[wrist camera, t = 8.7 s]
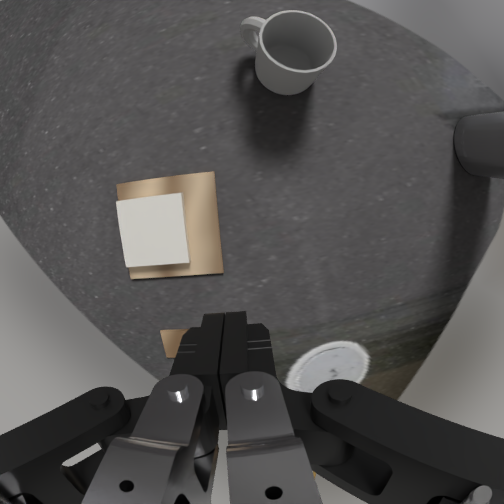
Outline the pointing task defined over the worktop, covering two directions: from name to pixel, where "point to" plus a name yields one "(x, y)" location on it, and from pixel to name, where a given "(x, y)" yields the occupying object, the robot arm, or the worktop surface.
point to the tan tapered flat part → (172, 341)
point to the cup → (289, 49)
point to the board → (197, 219)
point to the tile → (154, 230)
